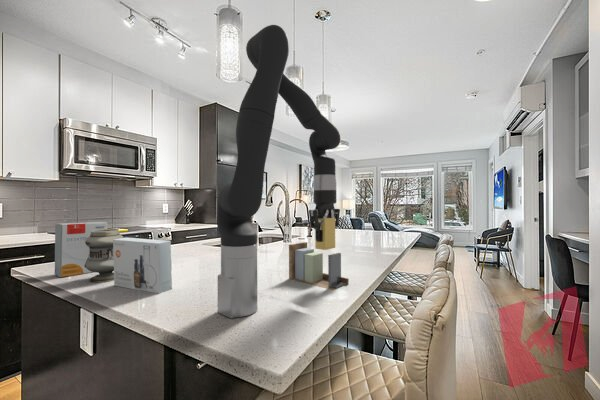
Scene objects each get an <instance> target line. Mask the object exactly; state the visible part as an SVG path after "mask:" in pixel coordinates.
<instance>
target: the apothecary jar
mask: <svg viewBox="0 0 600 400" xmlns="http://www.w3.org/2000/svg"><path fill="white" fill-rule="evenodd" d="M120 238H125V237H124V236H123V235H122V234H120V230H119V229H118V228H107V229H101V230H93V231H91V234H90V237H88V238H87V239H86V241H85V244H86V245H87V246H89V252H90V257H89V260H88V261H87V262H86V264H85V266H86V268H87V269H88V270H89V271H92V272H91V273H97V274H96V275H94V276H92V277H90V278H89V280H88V281H89V282H91V283H92V282H94V283H107V282H112V281H114V254H113V240H114V239H120Z"/></svg>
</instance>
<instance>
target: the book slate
mask: <svg viewBox="0 0 600 400" xmlns="http://www.w3.org/2000/svg"><path fill="white" fill-rule="evenodd" d="M313 252H315V249H314V248H309V247H307V248H302V249H297V250H295V279H299V280H303V281H304V280H305V256H304V254H308V253H313Z"/></svg>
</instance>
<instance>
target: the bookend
mask: <svg viewBox="0 0 600 400" xmlns="http://www.w3.org/2000/svg"><path fill="white" fill-rule="evenodd" d="M327 256H328V260H327V261H328V262H327V263H328V265H327V266H328V268H327V269H328V270H327V271H328V273H327V274H328V287H331V288H335V290H337V289H336V288H338V289H340V288H342V287H341V286H343V287H345V286H347V285H346V283H344V282H341V277H342V252H336V253H331V254H328V255H327ZM344 285H345V286H344ZM339 287H340V288H339Z"/></svg>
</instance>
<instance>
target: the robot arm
mask: <svg viewBox="0 0 600 400" xmlns="http://www.w3.org/2000/svg"><path fill="white" fill-rule="evenodd" d="M245 52H246V55H247V58H248V60H249V62H250V63H251V65H252V66H253V67H254V69H256V72H255V74H254V77H253V79H252V81H251V83H250V84H249V86H248V88H247V90H246V92H245V95H244V97H243V99H242V101H241V104H240V106H239V110H238V115H237V121H236V127H235V140H236V149H237V160H236V161H237V162H236V165H235V171H234V173H233V177H232V181H231V183H227V184H226V185H224V186H223V187H222V188H221V190H220V191H219V194H218V197H217V227H218V234H219V237H220V238H219V239H220V274H217V313H218V314H220V315H223V316H225V317H227V318H229V319H233V318H234V319H235V318H240V317H241V318H242V317H246V316H251V315H252V314H255V313H256V312H257V311H258V234H257V232H256V230H255V229H254V226H253V223H252V221H253V219H252V217H253V216H255V215H256V214H257V213H258V212H259V209H260V208H261V205H262V200H263V191H264V176H265V167H266V166H265V165H266V161H267V156H268V151H269V146H270V141H271V140H270V139H271V136H272V131H273V125H274V121H275V113H276V108H277V103H278V98H279V96H281V98H282V99H283V100H284V101H285V103H286V104H287V106H288V107H289V108H290V109H291V111H292V112H293V114H294V116H295V117H296V118H297V120H298V121H299V122H300V124H301V125H302V127H303V128H304V129H305V130H309V131H310V130H311V131H312V132H311V134H310V135H309V139H308V145H309V150H310V153H311V158H312V161H313V184H312V185H313V203H314V205H315V208H314V209H309V210H308V215H309V225H310V228H311V229H314V231H315V230H316V241H317V242H322V241H323V230H322V229H323V223H324V218H335V228H336V227H338V226H339V223H340V213H341V209H340V208H335V204H336V203H337V179H336V159H335V158H334V157H332V156H328V155H327V152H326V151H327V150H328V151H329V150H334V149H335V148H337V147H338V146H340V143H341V134H340V132H339V130H338V128H337V126H335V125H334V124H333V123H332V122H331V120H330V119H328V118H327V117H326V116H325V115H324V114H322V112H321V110H320V109H319V107H318V106H317V104H316V103H315V101H314V99H313V98H312V96H311V95H310V94H309V93H308V92H307V91H306V90H305V89H303V88H302V87H301V86H299V85H298V84H297V83H295V82H294V81H293V80H291V79H290V78H289V77H288V75H286V74H285V73H284V72H285V69H286V65H287V62H288V58H289V53H290V42H289V36H288V35H287V32H286V31H285V30H284V28H283V27H281V26H280V25H277V24H269V25H266V26H265V27H263V28H262V29H260V30H259V31H258V32H257V33H255V34H254V35H253V36H251V38H249V40H248V41H247V43H246V46H245ZM318 218H323V219H322V220H318ZM319 223H320V226H319Z"/></svg>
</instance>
